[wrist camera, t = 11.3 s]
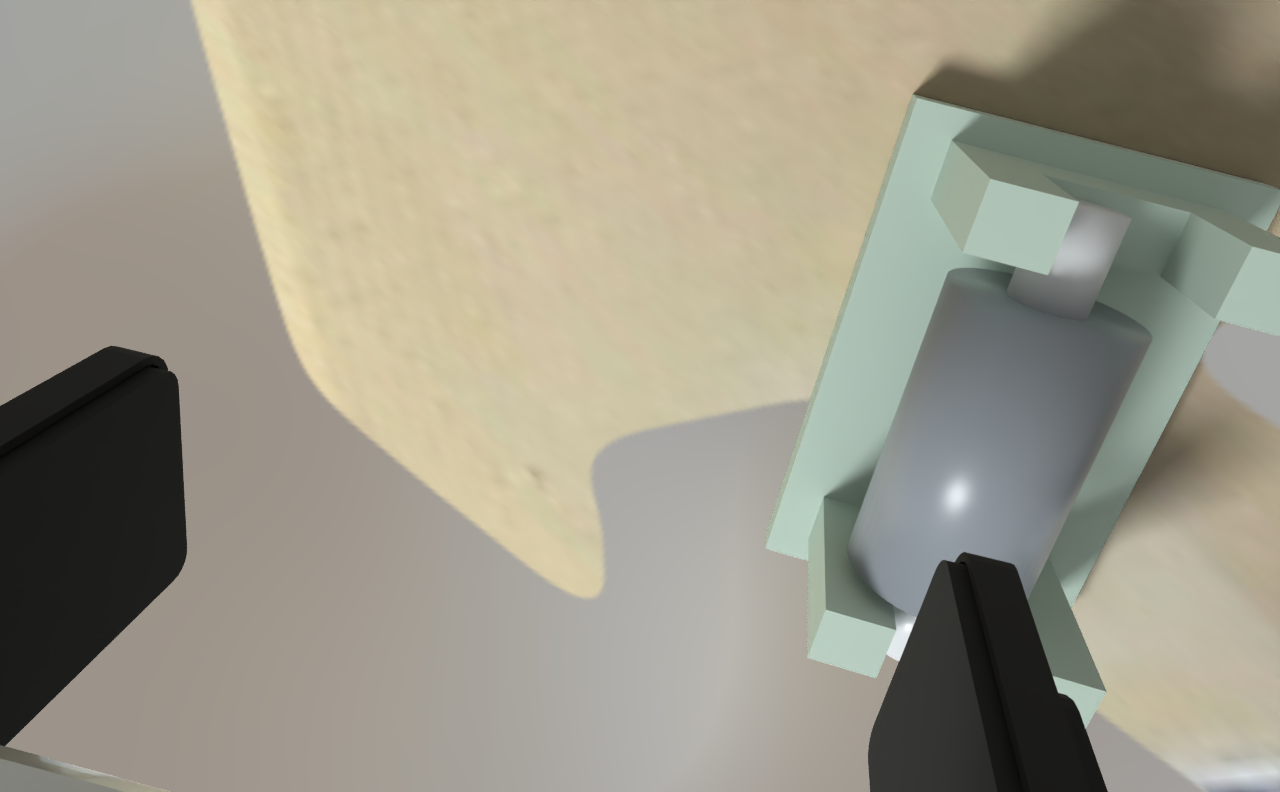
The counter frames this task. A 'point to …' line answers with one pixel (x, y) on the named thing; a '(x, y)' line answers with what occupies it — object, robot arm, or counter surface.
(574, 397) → the counter surface
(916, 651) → the robot arm
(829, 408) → the cradle
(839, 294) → the counter surface
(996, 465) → the roll
